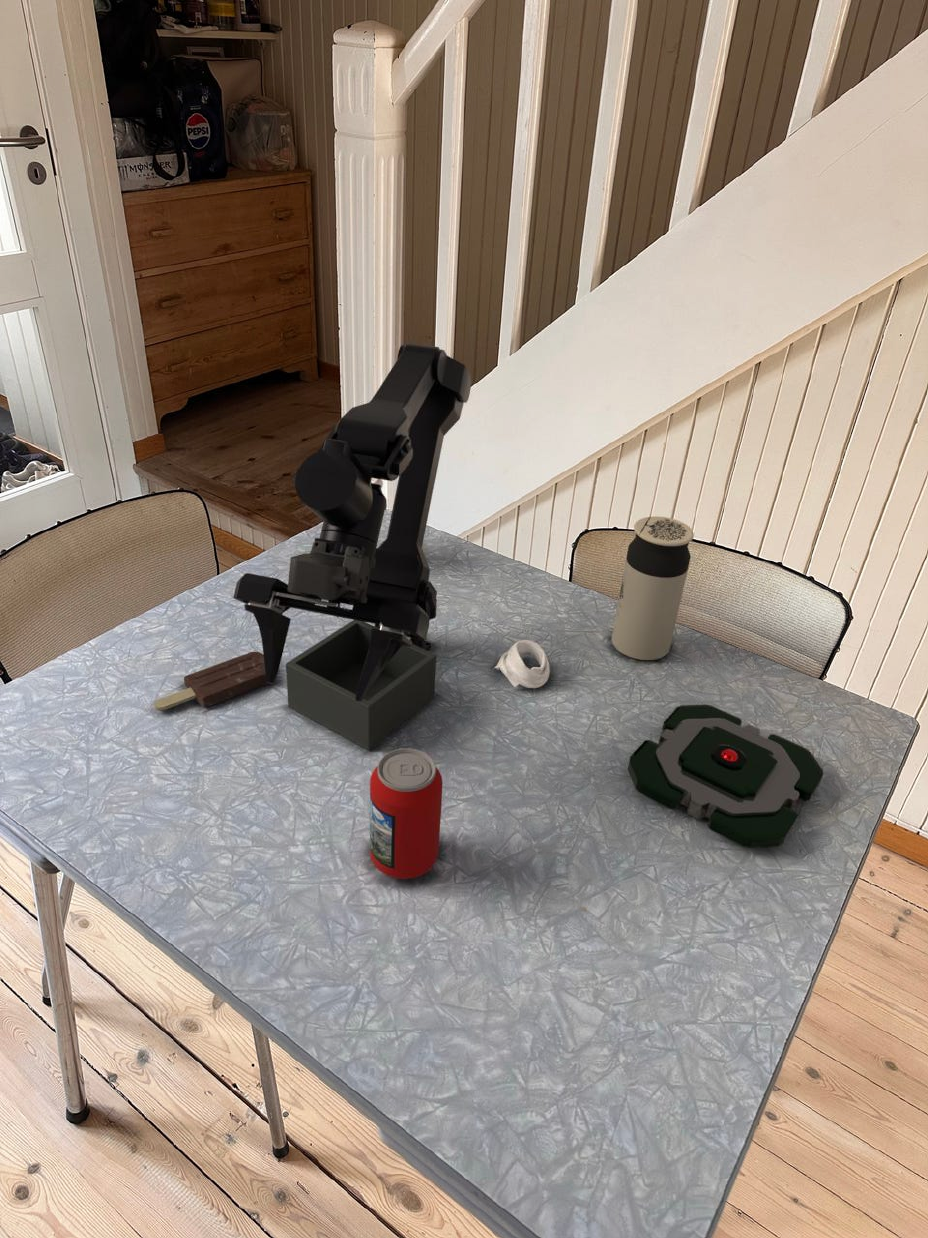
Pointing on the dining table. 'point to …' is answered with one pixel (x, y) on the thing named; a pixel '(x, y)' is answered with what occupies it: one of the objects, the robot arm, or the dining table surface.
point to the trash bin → (332, 677)
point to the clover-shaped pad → (726, 774)
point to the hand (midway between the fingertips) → (313, 692)
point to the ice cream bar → (219, 682)
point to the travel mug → (652, 587)
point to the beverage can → (405, 813)
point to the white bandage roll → (518, 671)
